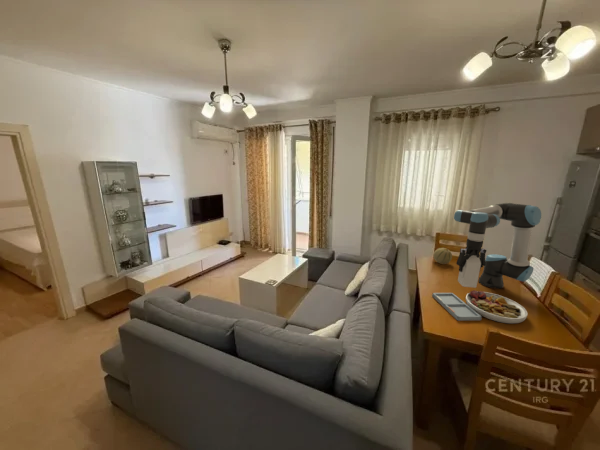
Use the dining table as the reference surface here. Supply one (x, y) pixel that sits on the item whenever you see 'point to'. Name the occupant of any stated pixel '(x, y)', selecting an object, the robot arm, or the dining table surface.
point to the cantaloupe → (442, 255)
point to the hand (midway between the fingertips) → (468, 276)
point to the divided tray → (456, 307)
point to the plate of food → (496, 307)
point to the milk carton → (470, 272)
